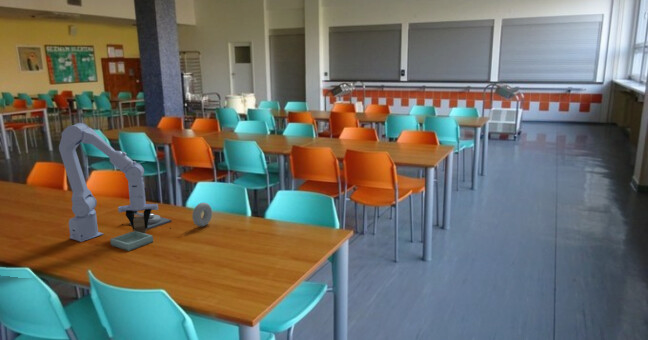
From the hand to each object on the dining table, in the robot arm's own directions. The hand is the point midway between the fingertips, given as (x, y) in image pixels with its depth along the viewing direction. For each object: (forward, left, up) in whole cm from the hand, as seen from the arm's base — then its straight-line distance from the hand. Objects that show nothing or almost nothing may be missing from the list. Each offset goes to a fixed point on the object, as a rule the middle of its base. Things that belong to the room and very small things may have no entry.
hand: (140, 228), depth 191 cm
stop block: (0, 0, -2) cm, 2 cm away
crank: (+9, +11, +1) cm, 14 cm away
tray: (-9, -7, -2) cm, 12 cm away
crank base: (+10, +7, -2) cm, 12 cm away
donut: (+19, -15, -2) cm, 24 cm away
